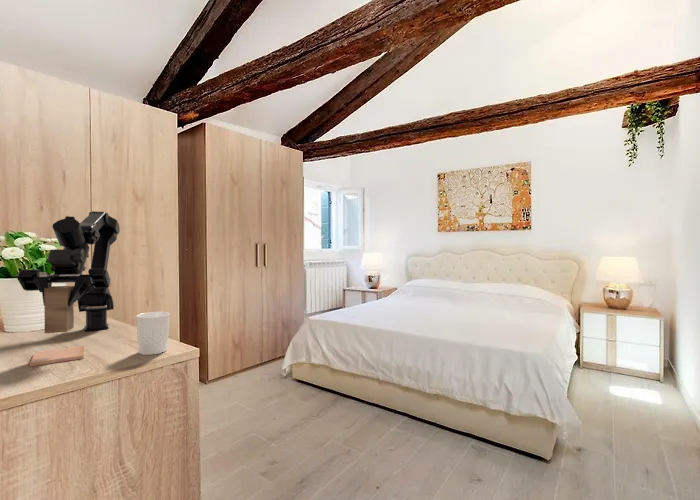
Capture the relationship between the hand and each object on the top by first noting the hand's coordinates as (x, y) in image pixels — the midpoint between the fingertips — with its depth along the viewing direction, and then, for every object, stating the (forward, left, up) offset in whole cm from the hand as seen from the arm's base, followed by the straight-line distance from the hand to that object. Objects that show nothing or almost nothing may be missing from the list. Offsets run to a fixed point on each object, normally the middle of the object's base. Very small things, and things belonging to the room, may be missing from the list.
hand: (57, 305), depth 88 cm
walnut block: (-1, 0, -7) cm, 7 cm away
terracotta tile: (-1, 0, -13) cm, 13 cm away
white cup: (+7, +20, -14) cm, 25 cm away
